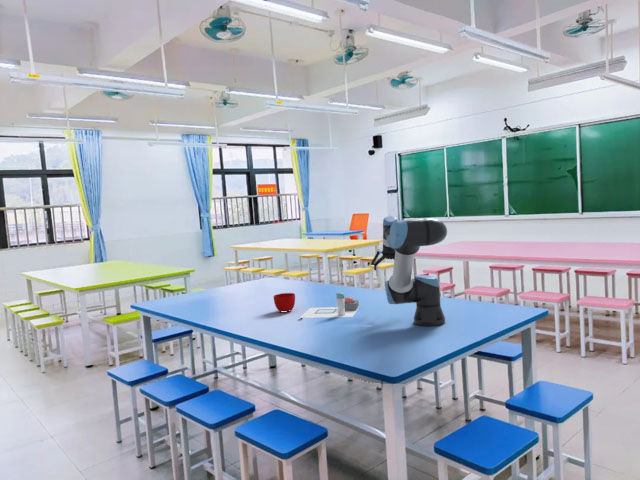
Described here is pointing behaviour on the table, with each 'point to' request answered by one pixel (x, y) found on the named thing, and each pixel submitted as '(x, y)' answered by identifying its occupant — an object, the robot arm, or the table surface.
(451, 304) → the table surface
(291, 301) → the ceramic cup
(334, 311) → the sheet
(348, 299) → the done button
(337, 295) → the marker
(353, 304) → the button housing
